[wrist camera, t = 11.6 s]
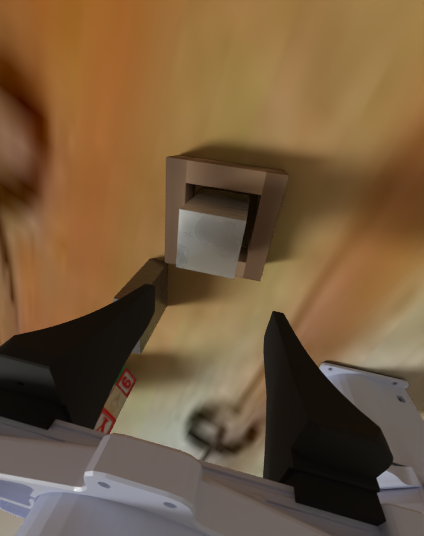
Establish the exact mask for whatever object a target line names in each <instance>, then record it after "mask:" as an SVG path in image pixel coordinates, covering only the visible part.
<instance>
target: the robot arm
mask: <svg viewBox="0 0 424 536" xmlns="http://www.w3.org/2000/svg"><path fill="white" fill-rule="evenodd" d="M154 312H155V285H150V284H144V285H142V286H141V287H139V288H137V289H136V290H134V291H132V292H131V293H129V294H127V295H125V296H124V297H122V298H120V299H119V300H117V301H115V302H113V303H111V304H109V305H107V306H105V307H103V308H101V309H99V310H97V311H95V312H92V313H90V314H88V315H85V316H83V317H80V318H77V319H74V320H72V321H69V322H66V323H63V324H59V325H56V326H53V327H49V328H45V329H41V330H37V331H33V332H28V333H23V334H19V335H14V336H13V337H12V338H10V339H9V340H8V341H6V342H5V343H4V344H3V345H1V346H0V509H1V510H3V511H6V512H8V513H10V514H13V515H15V516H18V517H20V518H23V519H25V520H24V521H23V523H22V525H21V526H20V528H19V529H18V531H17V533H16V534H15V536H424V420H423V419H422V417H421V415H420V413H419V412H418V410H417V408H416V407H415V405H414V403H413V402H412V400H411V398H410V397H409V395H408V393H407V392H406V388H407V387H408V386H409V384H408V382H407V381H405V380H402V379H397V378H393V377H388V376H384V375H379V374H375V373H370V372H366V371H362V370H357V369H353V368H348V367H344V366H339V365H335V364H330V363H322V364H321V366H320V367H319V368H318V366H317V365H316V364H315V363H314V361H313V360H312V359H311V358H310V356H309V355H308V353H307V352H306V350H305V349H304V347H303V346H302V344H301V343H300V341H299V339H298V338H297V336H296V335H295V333H294V331H293V329H292V328H291V326H290V324H289V322H288V320H287V319H286V317H285V315H284V313H280V312H276V311H273V312H272V315H271V318H270V321H269V324H268V326H267V329H266V332H265V335H264V366H265V379H266V394H267V402H266V436H265V456H264V471H263V478H261V477H257V476H254V475H250V474H247V473H243V472H240V471H236V470H233V469H229V468H226V467H222V466H219V465H215V464H212V463H208V462H205V461H201V460H198V459H196V458H195V457H193V456H192V455H190V454H188V453H185V452H183V451H181V450H177V449H174V448H170V447H167V446H163V445H160V444H156V443H153V442H149V441H146V440H142V439H139V438H135V437H132V436H128V435H124V434H118V433H112V434H106V433H103V432H99V431H96V430H94V428H95V426H96V423H97V421H98V419H99V416H100V414H101V412H102V410H103V407H104V405H105V403H106V401H107V399H108V396H109V394H110V392H111V390H112V388H113V386H114V384H115V382H116V380H117V378H118V376H119V374H120V372H121V370H122V368H123V366H124V364H125V362H126V360H127V358H128V357H129V355H130V353H131V352H132V350H133V349H134V347H135V346H136V344H137V343H138V341H139V339H140V338H141V336H142V335H143V333H144V332H145V330H146V328H147V327H148V325H149V323H150V321H151V319H152V317H153V315H154Z"/></svg>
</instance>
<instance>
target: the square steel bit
mask: <svg viewBox="0 0 424 536" xmlns="http://www.w3.org/2000/svg"><path fill="white" fill-rule="evenodd" d="M249 201H250V196H247V195H241V194H235V193H230V192H224V191H218V190H213V189H207V188H203V189H202V190H201V191H200V192H199V193H197V194H196V195H195V196H194V197H193V198H192V199H190V200H189V201H188V202H187V203H186V204H185V205H183V206H182V207H181V208H180V209H179V223H178V241H177V258H176V267H178V268H183V269H188V270H193V271H198V272H202V273H207V274H212V275H217V276H222V277H226V278H231V279H234V276H235V272H236V267H237V263H238V258H239V253H240V249H241V244H242V240H243V235H244V230H245V226H246V221H247V214H248V207H249Z"/></svg>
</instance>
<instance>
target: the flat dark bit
mask: <svg viewBox="0 0 424 536" xmlns="http://www.w3.org/2000/svg"><path fill="white" fill-rule="evenodd" d="M167 283H168V263H165V262H164V261H159V260H154V259H149V260H148V261H147V262H146V263H145V264H144V266H143V267H142V268H141V269H140V270H139V271H138V272H137V273H136V274H135V275H134V276H133V278H132V279H131V280H130V281H129V282H128V283H127V284H126V285H125V286H124V287H123V288H122V289H121V291H120V292H119V293H118V294H117V295H116V296H115V297H114V298H113V299H114V302H115V301H117V300H119V299H120V298H122V297H124V296H125V295H127V294H129V293H131V292H132V291H134V290H136V289H137V288H139V287H141V286H142V285H144V284H150V285H155V312H154V315H153V317H152V319H151V321H150V323H149V325H148V327H147V328H146V330H145V332H144V333H143V335H142V336H141V338H140V339H139V341H138V343H137V344H136V346H135V347H134V349H133V350H132V352H133V353H137V354H141V353H142V351H143V349H144V347H145V345H146V343H147V342H148V340H149V338H150V336H151V334H152V333H153V331H154V329H155V327H156V325H157V323H158V322H159V320H160V318H161V316H162V314H163V313H164V311H165V309H166V307H167Z"/></svg>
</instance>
